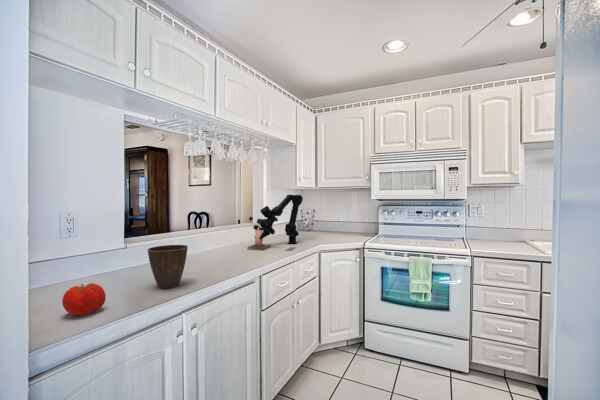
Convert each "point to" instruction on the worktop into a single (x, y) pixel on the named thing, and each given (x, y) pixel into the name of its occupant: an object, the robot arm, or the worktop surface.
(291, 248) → the slate-blue mat
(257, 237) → the terracotta peg
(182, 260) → the plant pot
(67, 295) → the tomato
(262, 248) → the walnut puzzle board
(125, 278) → the worktop surface
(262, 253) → the worktop surface
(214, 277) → the worktop surface
